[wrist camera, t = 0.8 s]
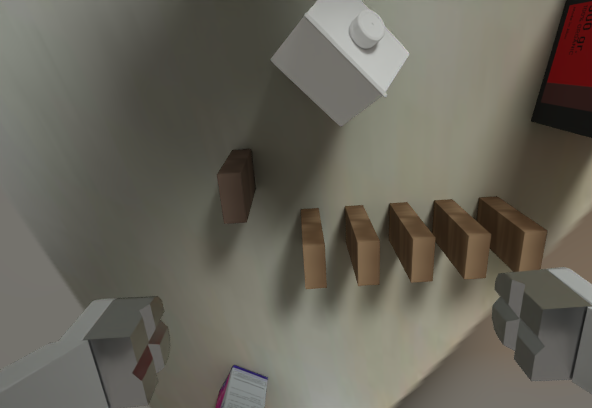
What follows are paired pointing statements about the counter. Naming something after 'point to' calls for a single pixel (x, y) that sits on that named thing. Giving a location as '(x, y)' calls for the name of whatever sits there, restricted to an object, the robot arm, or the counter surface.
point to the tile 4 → (411, 242)
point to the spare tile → (237, 186)
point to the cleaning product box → (569, 74)
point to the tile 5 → (461, 239)
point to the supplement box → (243, 390)
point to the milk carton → (341, 57)
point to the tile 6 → (512, 234)
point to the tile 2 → (313, 249)
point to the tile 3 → (362, 245)
